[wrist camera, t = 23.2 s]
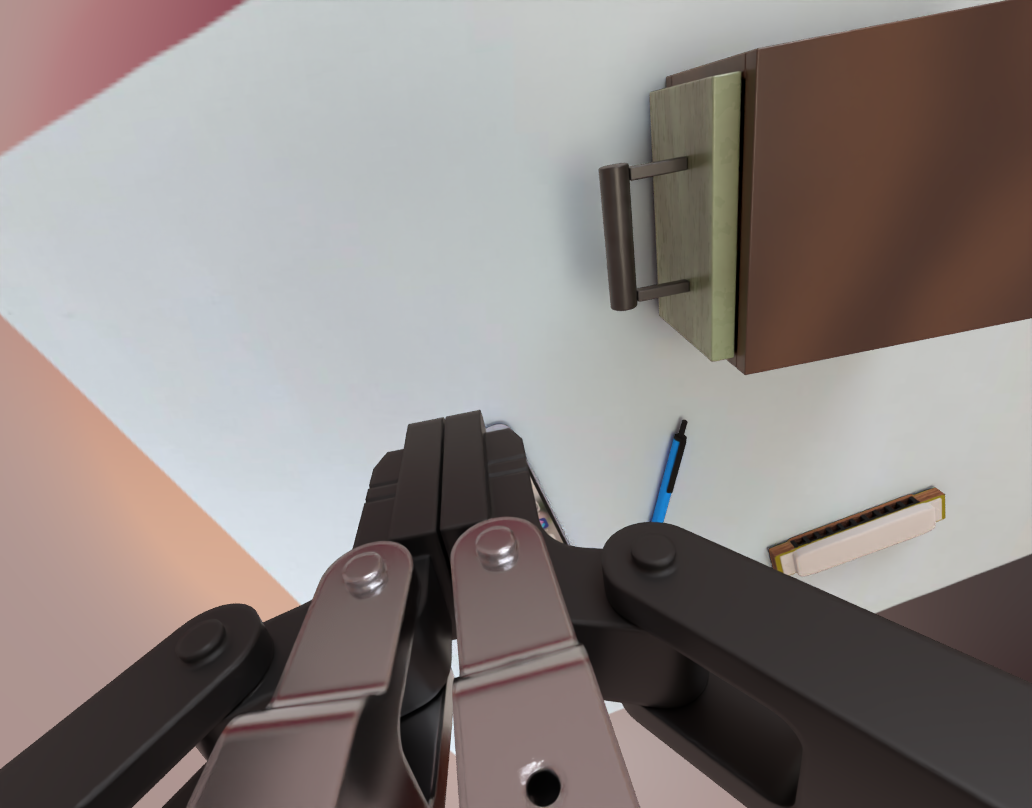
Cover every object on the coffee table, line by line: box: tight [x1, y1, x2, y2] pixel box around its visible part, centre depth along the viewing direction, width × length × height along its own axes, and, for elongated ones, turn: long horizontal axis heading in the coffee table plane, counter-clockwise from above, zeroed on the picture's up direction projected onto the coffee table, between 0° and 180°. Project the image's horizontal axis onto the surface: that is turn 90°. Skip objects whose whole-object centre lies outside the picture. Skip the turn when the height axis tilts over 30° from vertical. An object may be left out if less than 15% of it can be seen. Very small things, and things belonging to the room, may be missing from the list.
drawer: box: [599, 71, 745, 362], centre depth 27 cm, size 19×13×8 cm
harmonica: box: [769, 488, 945, 576], centre depth 44 cm, size 15×3×2 cm, turn 113°
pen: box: [652, 420, 687, 523], centre depth 42 cm, size 1×19×1 cm, turn 175°
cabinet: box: [666, 0, 1032, 375], centre depth 27 cm, size 16×14×10 cm
